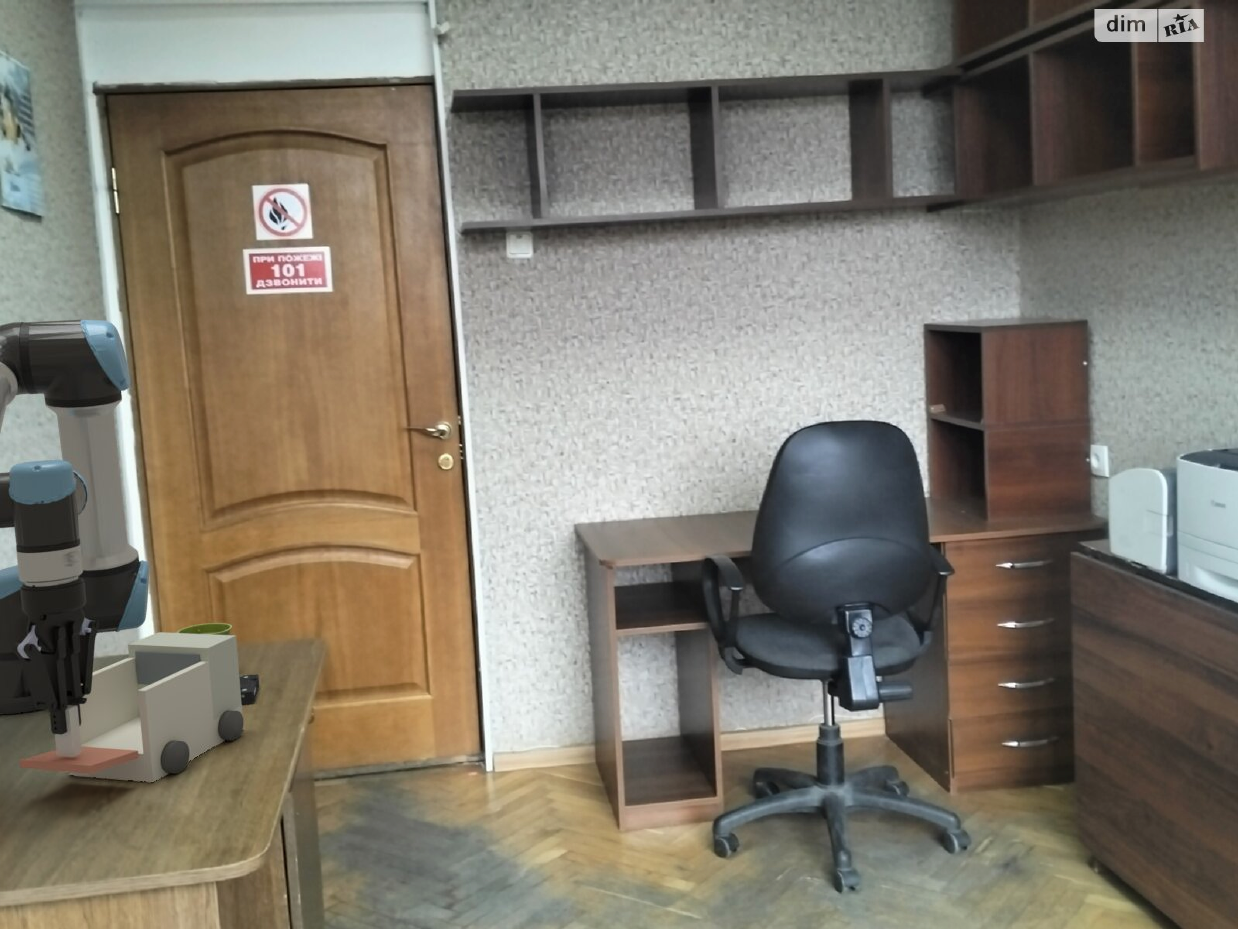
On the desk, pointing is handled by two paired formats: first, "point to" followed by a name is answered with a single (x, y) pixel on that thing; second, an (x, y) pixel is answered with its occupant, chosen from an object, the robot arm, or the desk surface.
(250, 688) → the disk drive
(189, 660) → the truck
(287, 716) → the desk surface
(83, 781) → the desk surface
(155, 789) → the desk surface
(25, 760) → the panel
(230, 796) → the desk surface
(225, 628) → the plant pot
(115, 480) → the robot arm
